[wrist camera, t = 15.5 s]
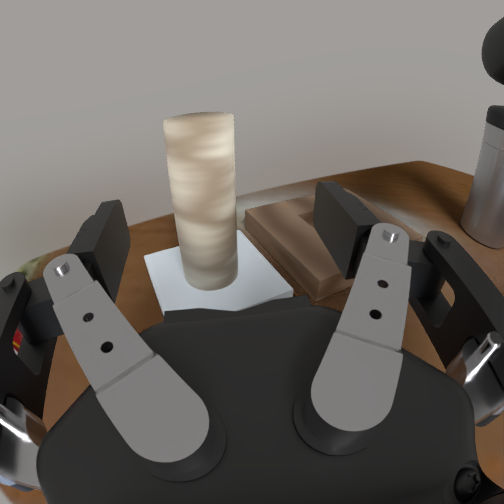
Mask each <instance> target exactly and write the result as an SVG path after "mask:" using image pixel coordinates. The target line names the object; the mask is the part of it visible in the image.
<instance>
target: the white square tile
mask: <svg viewBox="0 0 504 504" xmlns="http://www.w3.org/2000/svg"><path fill="white" fill-rule="evenodd" d="M237 253H238V276H237V278H236V279H235V281H234V282H233V283H232V284H230V285H229V286H227V287H225V288H222V289H219V290H213V291H204V290H199V289H196V288H194V287H192V286H191V285H189V284H188V283H187V281H186V279H185V275H184V270H183V264H182V259H181V253H180V247H179V246H178V247H174V248H171V249H167V250H163V251H160V252H156V253H153V254H149V255H146V256H144V259H145V262H146V266H147V269H148V272H149V275H150V278H151V281H152V284H153V287H154V290H155V293H156V296H157V299H158V302H159V305H160V307H161V310H162V313H163V316H164V311H171V310H182V309H193V308H206V309H217V310H228V311H240V310H243V309H246V308H250V307H253V306H256V305H259V304H262V303H264V302H267V301H270V300H273V299H281V298H288V297H293V288H292V287H291V286H290V285H289V284H288V283H287V282H286V281H285V279H284V278H283V277H282V276H281V275H280V274H279V273H278V272H277V271H276V270H275V268H274V267H273V266H272V265H271V264H270V263H269V262H268V261H267V260H266V259H265V258H264V256H263V255H262V254H261V253H260V252H259V251H258V250H257V249H256V248H255V247H254V245H253V244H252V243H251V242H250V241H249V240H248V239H247V238H246V237H245V236H244V235H243V233H242V232H241V231H240V230H237Z"/></svg>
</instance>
